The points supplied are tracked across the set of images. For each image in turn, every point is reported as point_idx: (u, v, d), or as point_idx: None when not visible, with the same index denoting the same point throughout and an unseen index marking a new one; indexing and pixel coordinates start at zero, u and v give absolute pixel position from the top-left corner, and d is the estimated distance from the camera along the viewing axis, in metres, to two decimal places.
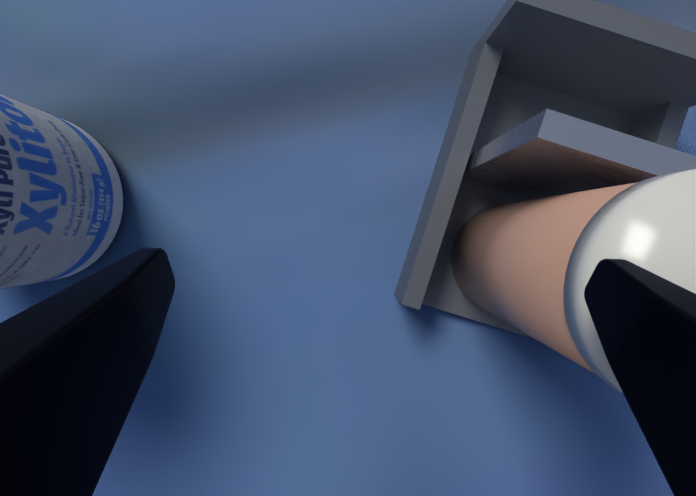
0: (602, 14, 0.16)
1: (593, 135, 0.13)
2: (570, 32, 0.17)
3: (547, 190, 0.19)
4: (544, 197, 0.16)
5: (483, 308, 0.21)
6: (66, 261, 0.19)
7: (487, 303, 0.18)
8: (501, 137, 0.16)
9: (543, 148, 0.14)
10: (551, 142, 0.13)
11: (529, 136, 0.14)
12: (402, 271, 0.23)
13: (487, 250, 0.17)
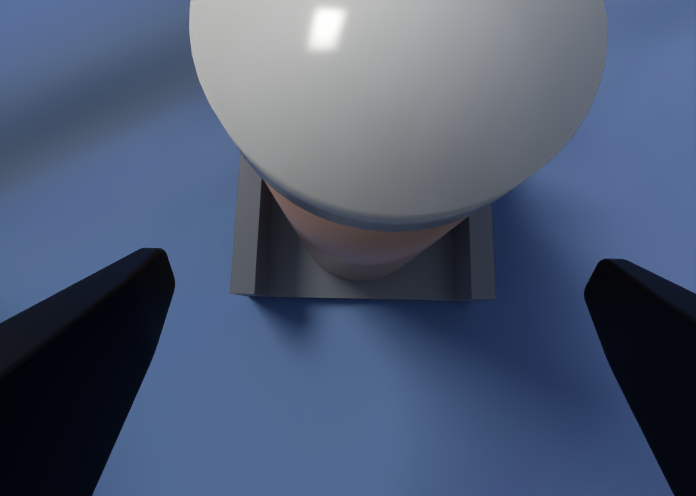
0: None
1: None
2: None
3: None
4: None
5: (341, 274, 0.17)
6: None
7: (312, 251, 0.14)
8: None
9: None
10: None
11: None
12: None
13: None
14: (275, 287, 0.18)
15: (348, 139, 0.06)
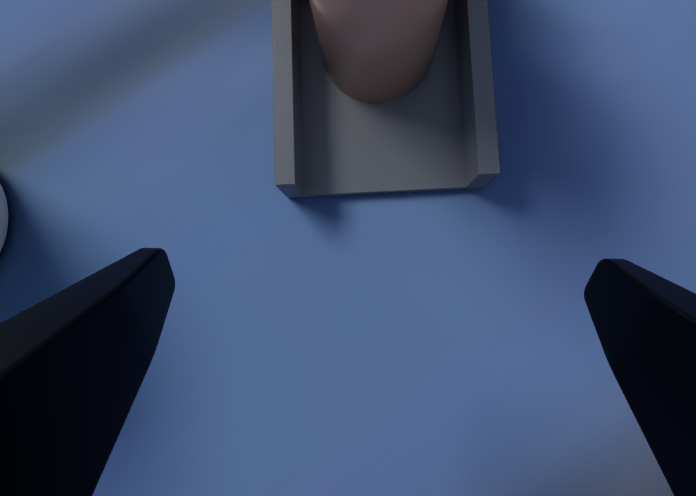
0: None
1: None
2: None
3: None
4: None
5: (363, 87, 0.20)
6: None
7: (337, 45, 0.17)
8: None
9: None
10: None
11: None
12: None
13: None
14: (310, 187, 0.21)
15: None
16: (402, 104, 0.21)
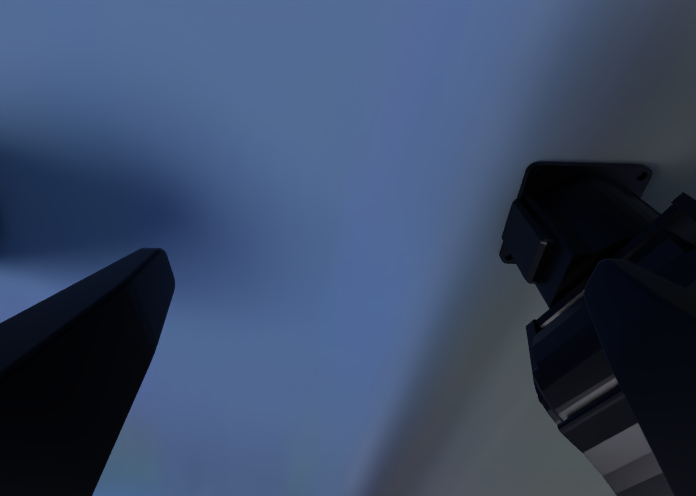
0: None
1: None
2: None
3: None
4: None
5: None
6: None
7: None
8: None
9: None
10: None
11: None
12: None
13: None
14: None
15: None
16: None
